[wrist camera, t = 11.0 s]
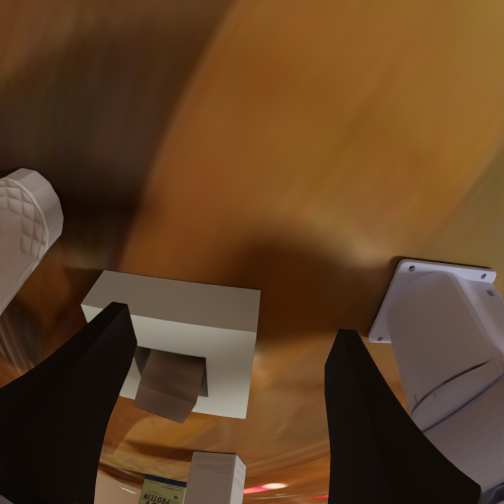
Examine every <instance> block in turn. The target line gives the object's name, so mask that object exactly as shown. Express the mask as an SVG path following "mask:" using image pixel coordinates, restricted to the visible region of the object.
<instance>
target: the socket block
mask: <svg viewBox="0 0 504 504" xmlns="http://www.w3.org/2000/svg"><path fill="white" fill-rule="evenodd" d="M260 294H261V290H254V289H245V288H236V287H227V286H219V285H210V284H202V283H194V282H186V281H178V280H171V279H163V278H156V277H148V276H141V275H134V274H127V273H120V272H114V271H107V270H104V271H103V273H102V274H101V276H100V277H99V278H98V280H97V281H96V283H95V284H94V286H93V287H92V289H91V290H90V291H89V293H88V294H87V296H86V297H85V299H84V300H83V302H82V303H81V306H82V309H83V312H84V314H85V317H86V320H87V322H88V323H89V322H90V321H91V320H92V319H93V318H94V317H95V316H96V315H97V314H99V313H100V312H101V311H102V310H103V309H104V308H105V307H106V306H108V305H109V304H110V303H111V302H112V301H114V302H119V303H125V304H128V308H129V312H130V316H131V320H132V324H133V327H134V331H135V335H136V338H137V342H138V343H137V347H136V350H135V354H134V357H133V361H132V364H131V367H130V370H129V372H128V375H127V377H126V379H125V382H124V384H123V387H122V389H121V391H120V394H119V395H120V396H123V397H127V398H131V399H135V396H136V393H137V389H138V385H139V382H140V380H141V377H142V374H143V371H144V369H145V366H146V363H147V361H148V358H149V355H150V353H151V350H152V349H157V350H162V351H168V352H174V353H180V354H186V355H192V356H198V357H205V358H206V363H205V367H204V371H203V376H202V380H201V385H200V389H199V394H198V398H197V403H196V405H195V407H194V408H193V410H192V411H193V412H199V413H205V414H212V415H219V416H226V417H234V418H243V419H245V418H246V411H247V403H248V396H249V388H250V381H251V373H252V366H253V358H254V350H255V343H256V335H257V325H258V315H259V304H260Z"/></svg>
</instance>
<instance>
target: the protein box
mask: <svg viewBox="0 0 504 504" xmlns="http://www.w3.org/2000/svg"><path fill="white" fill-rule="evenodd" d="M186 487H187V483H185V482H180V481H175V480H170V479H165V478H161V477H157V476H153V475H149V474H146V476H145V480H144V483H143V487H142V492H141V496H140V499H139V504H184V498H185V493H186Z"/></svg>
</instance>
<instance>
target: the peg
mask: <svg viewBox="0 0 504 504" xmlns="http://www.w3.org/2000/svg"><path fill="white" fill-rule="evenodd" d="M205 363H206V358H205V357H198V356H192V355H186V354H180V353H174V352H168V351H162V350H157V349H152V350H151V353H150V355H149V358H148V361H147V363H146V366H145V369H144V371H143V374H142V377H141V380H140V382H139V385H138V389H137V393H136V396H135V400H134V404H133V406H135V407H137V408H140V409H142V410H145V411H148V412H150V413H153V414H156V415H159V416H161V417H164V418H167V419H170V420H173V421H176V422H179V423H182V424H183V422H184V421H185V419H186V418H187V417H188V415H189V414H190V412H191V411H192V410H193V408H194V407H195V405H196V403H197V398H198V394H199V389H200V385H201V380H202V376H203V371H204V367H205Z"/></svg>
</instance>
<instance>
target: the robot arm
mask: <svg viewBox="0 0 504 504" xmlns="http://www.w3.org/2000/svg"><path fill="white" fill-rule="evenodd" d="M413 265H414V266H413ZM410 266H413V267H412V268H409V267H410ZM495 278H496V272H495V271H494V270H493V269H485V268H477V267H469V266H461V265H453V264H445V263H437V262H428V261H420V260H411V259H403V260H401V261H400V262H399V264H398V266H397V268H396V271H395V274H394V276H393V279H392V281H391V284H390V286H389V289H388V291H387V294H386V296H385V298H384V301H383V303H382V305H381V308H380V310H379V312H378V315H377V317H376V319H375V321H374V324H373V326H372V328H371V330H370V332H369V335H368V340H369V341H370V342H377V343H392V346H393V350H394V353H395V357H396V361H397V364H398V368H399V372H400V376H401V380H402V384H403V388H404V392H405V396H406V400H407V405H408V409H409V414H410V416H409V415H408V414H407V412H406V411H405V409H404V408H403V407H402V405H401V404H400V402H399V401H398V399H397V398H396V396H395V395H394V393H393V392H392V390H391V389H390V387H389V386H388V384H387V382H386V381H385V379H384V377H383V376H382V374H381V372H380V371H379V369H378V367H377V366H376V364H375V362H374V360H373V359H372V357H371V355H370V353H369V352H368V350H367V348H366V346H365V344H364V343H363V341H362V339H361V337H360V335H359V334H358V332H357V331H356V330H345V329H339V330H338V333H337V336H336V338H335V341H334V344H333V346H332V349H331V351H330V354H329V356H328V359H327V361H326V363H325V380H324V381H325V401H326V410H327V420H328V429H329V439H330V455H331V460H330V483H329V497H328V504H504V300H503V298H502V297H501V295H500V294H499V292H498V291H497V289H496V288H495V286H494V285H493V284H492V283H493V281H494V280H495ZM137 343H138V342H137V338H136V335H135V331H134V327H133V324H132V320H131V316H130V312H129V308H128V304H125V303H119V302H114V301H112V302H111V303H110V304H109V305H108V306H106V307H105V308H104V309H103V310H102V311H101V312H100V313H99V314H97V315H96V316H95V317H94V318H93V319H92V320H91V321H90V322H89V323H88V324H86V325H85V326H84V327H83V328H82V329H81V330H80V331H79V332H77V333H76V334H75V335H74V336H73V337H72V338H71V339H70V340H68V341H67V342H66V343H65V344H64V345H62V346H61V347H60V348H59V349H58V350H56V351H55V352H54V353H53V354H52V355H50V356H49V357H48V358H47V359H45V360H44V361H43V362H41V363H40V364H38V365H37V366H36V367H34V368H33V369H31V370H30V371H28V372H27V373H25V374H24V375H22V376H21V377H19V378H17V379H15V380H14V381H12V382H10V383H9V384H7V385H5V386H4V387H2V388H0V504H94V496H95V485H96V477H97V471H98V464H99V459H100V454H101V449H102V445H103V440H104V436H105V432H106V429H107V425H108V422H109V419H110V416H111V413H112V411H113V408H114V406H115V404H116V401H117V399H118V396H119V394H120V391H121V389H122V387H123V384H124V382H125V379H126V377H127V375H128V372H129V370H130V367H131V364H132V361H133V357H134V354H135V350H136V347H137Z"/></svg>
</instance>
